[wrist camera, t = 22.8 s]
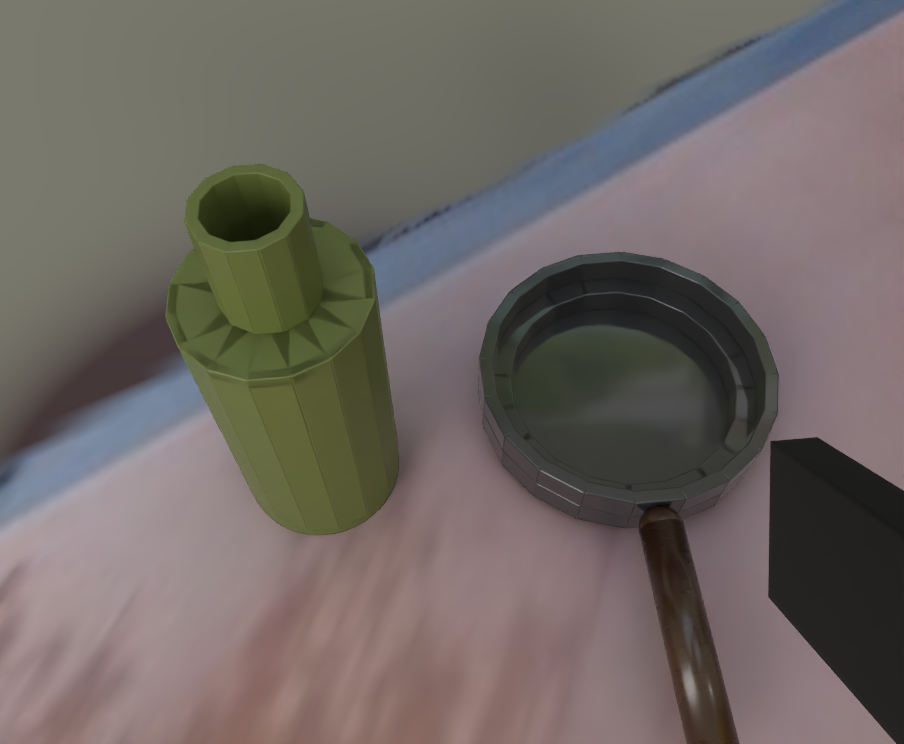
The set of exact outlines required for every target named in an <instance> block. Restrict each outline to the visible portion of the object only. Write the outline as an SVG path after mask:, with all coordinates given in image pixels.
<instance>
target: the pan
mask: <svg viewBox="0 0 904 744" xmlns="http://www.w3.org/2000/svg"><path fill="white" fill-rule="evenodd" d="M778 379H779V375H778V371H777V368H776V365H775V362H774V359H773V357H772V354H771V351H770V348H769V345H768V343H767V340H766V337H765V336H764V334H763V332H762V331H761V330H760V328H759V327H758V326H757V324H756V323H755V322H754V321H753V319H752V318H751V317H750V315H749V314H748V313H747V311H746V310H745V309H744V308H743V306H742V305H741V304H740V303H738V301H737V300H736V299H735V298H733V297H732V296H731V295H729V294H728V293H727V292H725V291H724V290H723V289H721V288H720V287H719V286H717V285H716V284H715V283H713V282H712V281H711V280H709V279H708V278H707V277H704V276H703V275H701V274H699V273H696V272H694V271H692V270H689V269H687V268H685V267H682V266H680V265H677V264H675V263H673V262H670V261H668V260H664V259H662V258H656V257H650V256H644V255H638V254H632V253H626V252H622V253H621V252H614V253H601V254H587V255H578V256H575V257H572V258H569V259H566V260H564V261H561V262H558V263H555V264H552V265H549V266H546V267H543V268H542V269H540V270H538V271H537V272H536V273H534V274H533V275H532V276H530V277H529V278H527V279H526V280H525V281H523V282H522V283H520V284H519V285H518V286H516V287H515V288H514V289H512V290H511V291H510V292H509V293H508V295H507V296H506V297H505V299H504V300H503V302H502V303H501V305H500V306H499V307H498V309H497V310H496V312H495V313H494V314H493V316H492V317H491V319H490V320H489V322H488V325H487V329H486V333H485V337H484V341H483V345H482V349H481V353H480V357H479V378H478V392H479V400H480V408H481V416H482V424H483V428H484V430H485V432H486V434H487V436H488V438H489V440H490V442H491V444H492V446H493V448H494V450H495V452H496V453H497V455H498V457H499V459H500V461H501V463H502V465H503V466H504V467H505V468H506V469H507V470H508V471H509V472H510V473H511V474H512V475H513V476H514V477H515V478H516V479H517V480H518V481H519V482H520V483H521V484H522V485H523V486H525V487H526V488H527V489H528V490H529V491H530V492H531V493H532V494H533V495H535V497H537V498H539V499H541V500H543V501H544V502H546V503H548V504H550V505H552V506H554V507H556V508H558V509H559V510H561V511H563V512H565V513H567V514H569V515H571V516H573V517H575V518H578V519H582V520H587V521H592V522H596V523H601V524H606V525H611V526H616V527H621V528H624V527H625V528H634V527H639V522H640V519H641V517H642V515H643V513H644V512H645V511H646V510H648V509H649V508H651V507H654V506H667V507H670V508H672V509H674V510H675V511H676V512H677V513H678V514H679V515H680V517H681V518H682V520H683V519H685V518H687V517H690V516H692V515H694V514H697V513H699V512H701V511H703V510H706V509H708V508H710V507H712V506H714V505H715V504H716V503H717V502H718V501H720V500H721V499H722V498H723V497H724V496H725V495H726V494H727V493H728V492H729V491H730V490H731V489H732V488H733V487H734V486H735V485H736V484H737V483H738V482H739V481H740V480H741V479H742V478H743V477H744V476H745V474H746V473H747V471H748V470H749V468H750V467H751V465H752V464H753V462H754V461H755V459H756V458H757V456H758V455H759V453H760V452H761V450H762V448H763V446H764V444H765V442H766V439H767V437H768V435H769V433H770V430H771V428H772V426H773V424H774V421H775V419H776V417H777V413H778Z"/></svg>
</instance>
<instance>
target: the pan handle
mask: <svg viewBox="0 0 904 744" xmlns="http://www.w3.org/2000/svg"><path fill="white" fill-rule="evenodd" d="M639 532H640V537H641V541H642V546H643V550H644V555H645V559H646V564H647V568H648V573H649V577H650V582H651V586H652V591H653V595H654V600H655V604H656V609H657V613H658V617H659V622H660V626H661V631H662V635H663V640H664V644H665V649H666V653H667V658H668V662H669V667H670V671H671V676H672V680H673V685H674V689H675V694H676V698H677V703H678V707H679V712H680V716H681V721H682V725H683V729H684V734H685V738H686V743H687V744H739V740H738V736H737V732H736V728H735V724H734V720H733V716H732V712H731V708H730V704H729V700H728V696H727V692H726V688H725V685H724V681H723V677H722V673H721V669H720V665H719V661H718V657H717V653H716V649H715V645H714V641H713V637H712V633H711V630H710V626H709V622H708V618H707V614H706V610H705V606H704V602H703V598H702V594H701V590H700V586H699V582H698V578H697V575H696V571H695V567H694V563H693V559H692V555H691V551H690V547H689V543H688V539H687V535H686V531H685V527H684V523H683V521H682V518H681V517H680V515H679V514H678V513H677V512H676V511H675V510H674V509H672V508H670V507H667V506H654V507H651V508H649V509H648V510H646V511H645V512H644V513H643V515H642V517H641V519H640V522H639Z"/></svg>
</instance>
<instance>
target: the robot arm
mask: <svg viewBox="0 0 904 744" xmlns="http://www.w3.org/2000/svg"><path fill="white" fill-rule="evenodd" d="M768 597H769V598H770V599H771V601H772V602H773V603H774V604H775V605H776V606H777V607H778V609H779V610H780V611H781V612H782V613H783V614H784V615H785V617H786V618H787V619H788V620H789V621H790V622H791V623H792V625H793V626H794V627H795V628H796V629H797V630H798V631H799V633H800V634H801V635H802V636H803V637H804V638H805V640H806V641H807V642H808V643H809V644H810V645H811V646H812V648H813V649H814V650H815V651H816V652H817V653H818V654H819V656H820V657H821V658H822V659H823V660H824V661H825V662H826V664H827V665H828V666H829V667H830V668H831V669H832V670H833V672H834V673H835V674H836V675H837V676H838V677H839V678H840V680H841V681H842V682H843V683H844V684H845V685H846V686H847V688H848V689H849V690H850V691H851V692H852V693H853V694H854V696H855V697H856V698H857V699H858V700H859V701H860V702H861V704H862V705H863V706H864V707H865V708H866V709H867V710H868V712H869V713H870V714H871V715H872V716H873V717H874V718H875V720H876V721H877V722H878V723H879V724H880V725H881V726H882V728H883V729H884V730H885V731H886V732H887V733H888V734H889V736H890V737H891V738H892V739H893V740H894V741H895V742H896V744H904V491H903V490H901V489H900V488H898V487H897V486H895V485H893V484H892V483H890V482H888V481H887V480H885V479H884V478H882V477H880V476H879V475H877V474H876V473H874V472H872V471H871V470H869V469H868V468H866V467H864V466H863V465H861V464H859V463H858V462H856V461H855V460H853V459H851V458H850V457H848V456H847V455H845V454H843V453H842V452H840V451H838V450H837V449H835V448H834V447H832V446H830V445H829V444H827V443H826V442H824V441H822V440H821V439H819V438H818V437H815V438H804V439H792V440H781V441H771V455H770V524H769V593H768Z"/></svg>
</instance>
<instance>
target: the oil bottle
mask: <svg viewBox="0 0 904 744" xmlns="http://www.w3.org/2000/svg"><path fill="white" fill-rule="evenodd" d="M184 222H185V226H186V228H187V230H188V233H189V236H190V238H191V240H192V243H193V245H194V249H193V250H192V251H190V252H189V253H188V255H187V256H186V257H185V259H184V261H183V262H182V264H181V265H180V267H179V268H178V270H177V272H176V273H175V275H174V277H173V278H172V280H171V281H170V284H169V288H168V297H167V306H166V314H165V316H166V320H167V323H168V325H169V327H170V330H171V332H172V334H173V337H174V339H175V342H176V344H177V346H178V348H179V350H180V352H181V354H182V356H183V358H184V360H185V362H186V364H187V366H188V368H189V370H190V372H191V374H192V376H193V378H194V380H195V382H196V383H197V385H198V387H199V389H200V391H201V393H202V395H203V397H204V399H205V401H206V403H207V405H208V407H209V409H210V411H211V413H212V415H213V417H214V419H215V421H216V423H217V424H218V426H219V428H220V430H221V432H222V434H223V436H224V438H225V440H226V442H227V444H228V446H229V448H230V450H231V452H232V454H233V456H234V458H235V460H236V462H237V464H238V465H239V467H240V469H241V471H242V473H243V475H244V477H245V479H246V481H247V483H248V485H249V487H250V489H251V491H252V493H253V495H254V497H255V499H256V501H257V503H258V504H259V505H260V506H261V507H262V509H263V510H264V511H265V512H266V513H267V514H268V515H269V516H270V517H271V518H272V519H273V520H274V521H276V522H277V523H278V524H280V525H282V526H284V527H286V528H288V529H291V530H293V531H296V532H300V533H304V534H313V535H325V534H332V533H338V532H341V531H345V530H348V529H350V528H352V527H355V526H357V525H358V524H360V523H362V522H364V521H365V520H367V519H368V518H369V517H371V516H372V515H373V514H374V513H375V512H376V511H377V510H379V509H380V507H381V506H382V505H383V504H384V503H385V501H386V500H387V498H388V497H389V495H390V493H391V492H392V489H393V487H394V485H395V482H396V479H397V475H398V468H399V456H398V445H397V435H396V428H395V421H394V413H393V406H392V399H391V391H390V384H389V377H388V370H387V362H386V355H385V348H384V340H383V333H382V326H381V318H380V311H379V304H378V296H377V289H376V282H375V274H374V269H373V266H372V265H371V263H370V262H369V260H368V258H367V257H366V255H365V253H364V252H363V250H362V249H361V247H360V245H359V244H358V242H357V241H356V240H354V239H353V238H351V237H350V236H348V235H347V234H345V233H344V232H342V231H341V230H339V229H338V228H336V227H335V226H333V225H331V224H330V223H328V222H325V221H320V220H316V219H312V218H310V217H309V213H308V208H307V204H306V199H305V195H304V192H303V190H302V189H301V187H300V186H299V185H298V184H297V183H296V181H295V180H294V179H293V178H292V177H291V175H289V174H288V173H287V172H284V171H281V170H279V169H275V168H272V167H270V166H267V165H262V164H254V165H239V166H232V167H229V168H227V169H224V170H222V171H220V172H218V173H216V174H214V175H211V176H209V177H207V178H205V180H203V181H202V182H201V183H200V184H199V186H198V187H197V188H196V189H195V190H194V191H193V193H192V194H191V195H190V196H189V197H188V199H187V202H186V212H185V221H184Z"/></svg>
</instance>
